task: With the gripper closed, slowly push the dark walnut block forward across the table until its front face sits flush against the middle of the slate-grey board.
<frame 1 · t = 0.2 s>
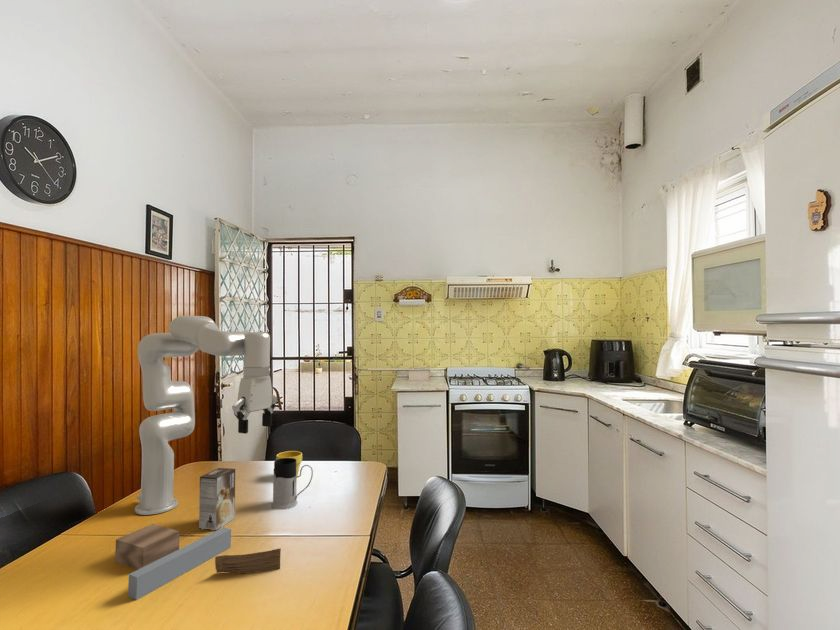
hand: (255, 429, 129), 31 cm above the table, tool pointing down, fingers open, 9 cm apart
plant pot: (289, 478, 177), on the table
coffee box: (217, 524, 134), on the table
wood plank: (248, 572, 107), on the table
walnut block: (147, 558, 114), on the table
glass holder: (292, 504, 150), on the table
grey board: (184, 569, 108), on the table
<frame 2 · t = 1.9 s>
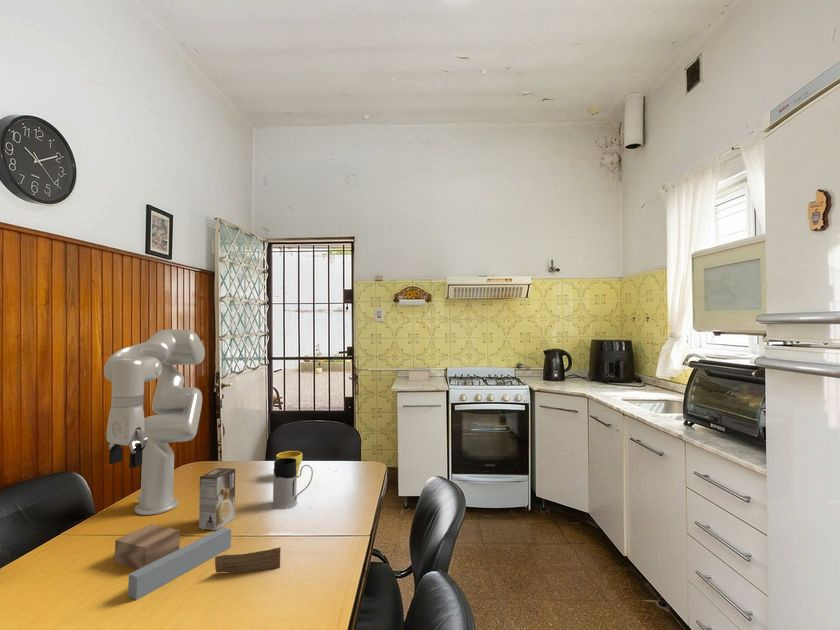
hand: (125, 464, 120), 23 cm above the table, tool pointing down, fingers open, 8 cm apart
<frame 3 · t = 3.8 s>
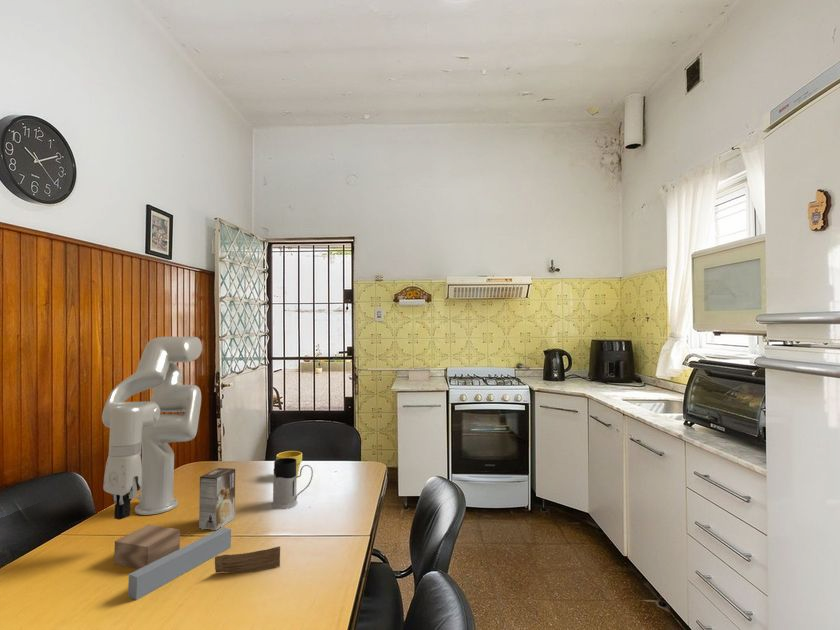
hand: (122, 517, 118), 9 cm above the table, tool pointing down, fingers closed
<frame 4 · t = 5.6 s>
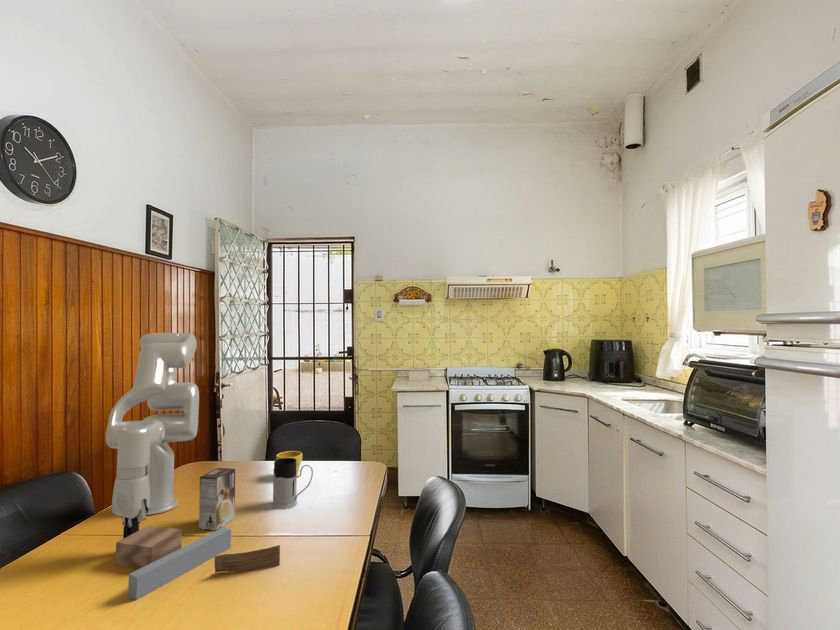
hand: (130, 539, 117), 3 cm above the table, tool pointing down, fingers closed
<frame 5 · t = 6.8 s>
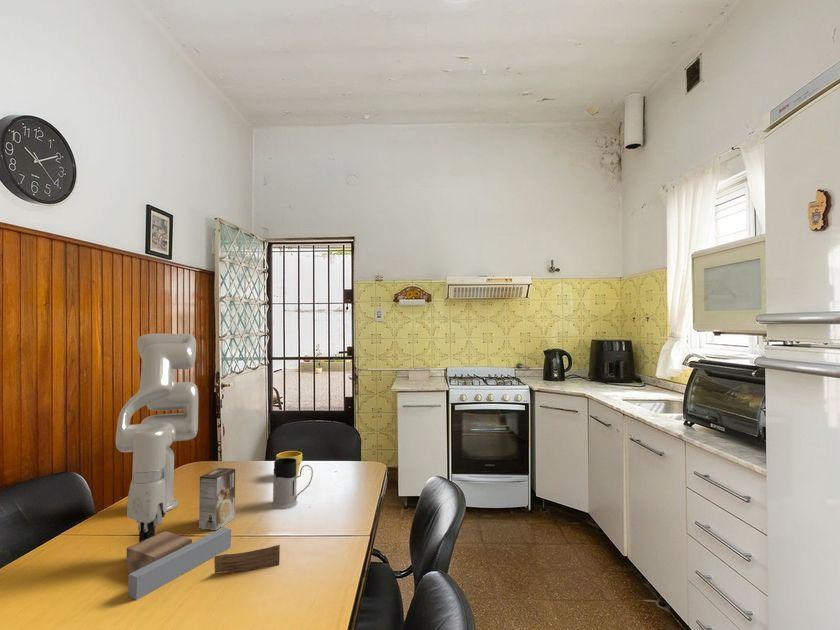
hand: (146, 544, 114), 3 cm above the table, tool pointing down, fingers closed
walnut block: (159, 567, 110), on the table, touching gripper
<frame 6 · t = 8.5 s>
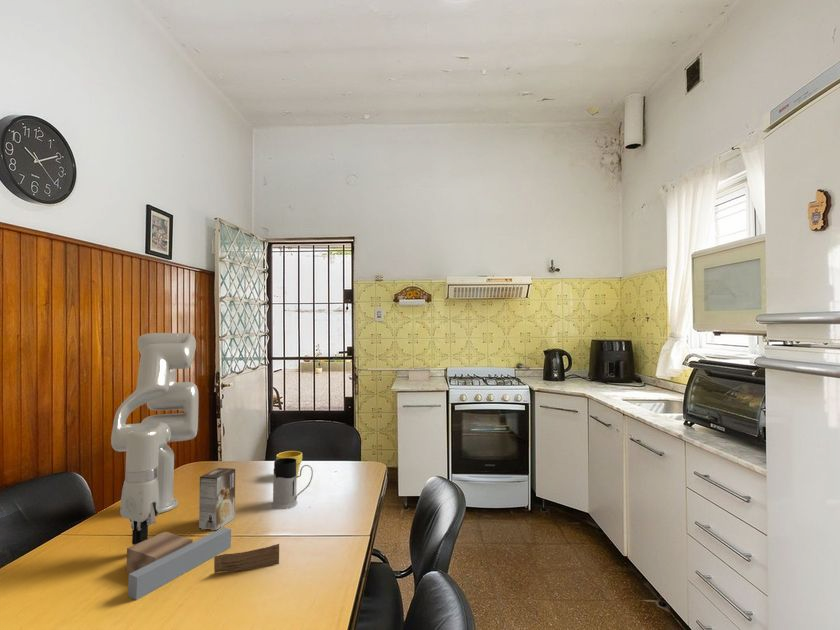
hand: (139, 542, 116), 3 cm above the table, tool pointing down, fingers closed
walnut block: (159, 567, 109), on the table
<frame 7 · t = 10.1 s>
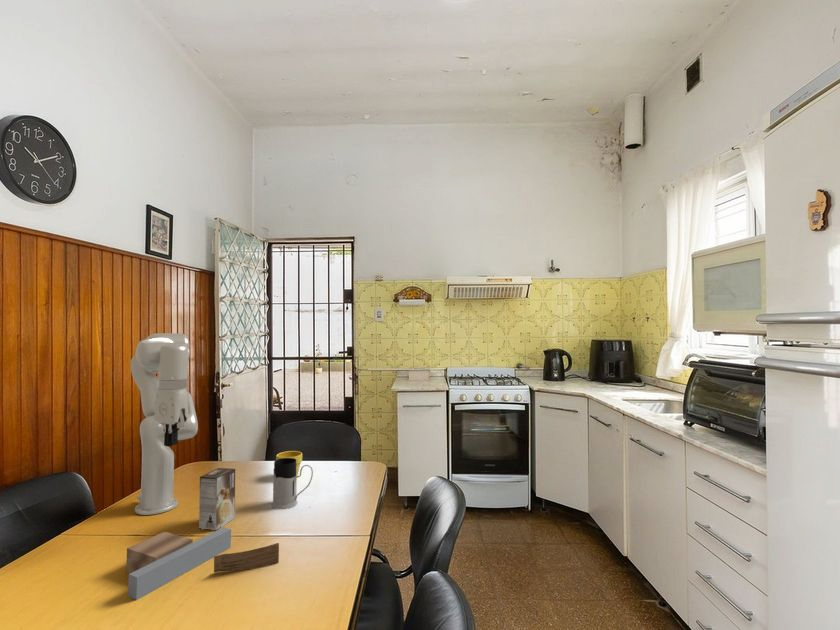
hand: (170, 444, 130), 26 cm above the table, tool pointing down, fingers closed
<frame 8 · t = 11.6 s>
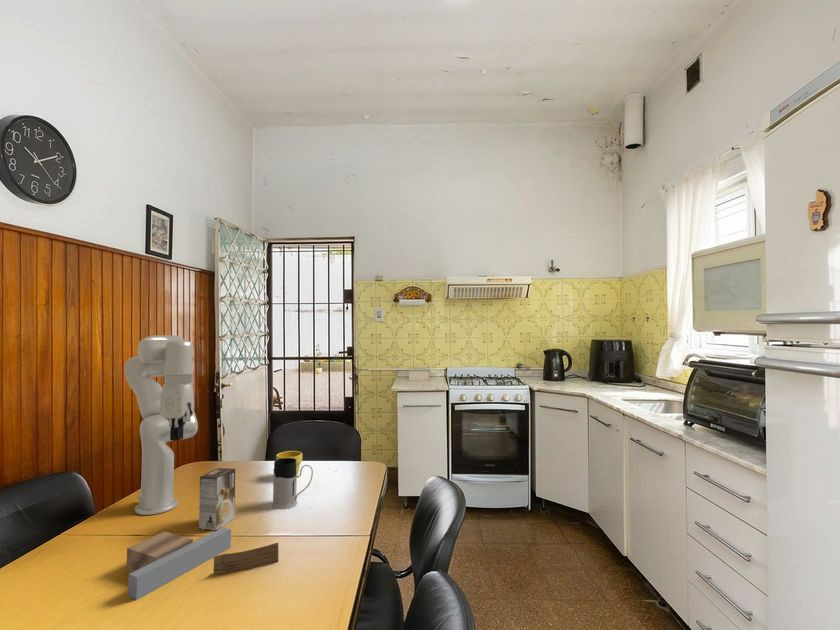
hand: (176, 439, 132), 27 cm above the table, tool pointing down, fingers closed
at the end: walnut block 1.7 cm from the target spot on the table beside the grey board, on the table; walnut block tilted 0° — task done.
